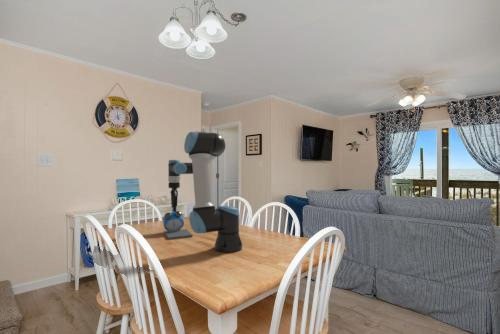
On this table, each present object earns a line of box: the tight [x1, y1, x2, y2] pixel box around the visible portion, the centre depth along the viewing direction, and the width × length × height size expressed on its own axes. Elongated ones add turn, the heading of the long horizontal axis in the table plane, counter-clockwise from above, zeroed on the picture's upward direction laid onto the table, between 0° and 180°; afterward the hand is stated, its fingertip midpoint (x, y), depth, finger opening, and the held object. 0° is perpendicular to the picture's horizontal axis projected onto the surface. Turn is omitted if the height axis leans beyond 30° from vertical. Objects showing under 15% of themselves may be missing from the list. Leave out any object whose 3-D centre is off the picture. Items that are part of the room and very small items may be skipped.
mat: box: [163, 228, 193, 241], centre depth 180 cm, size 16×15×2 cm
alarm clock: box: [162, 210, 185, 231], centre depth 187 cm, size 13×6×15 cm
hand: (174, 216), depth 191 cm, fingers closed
